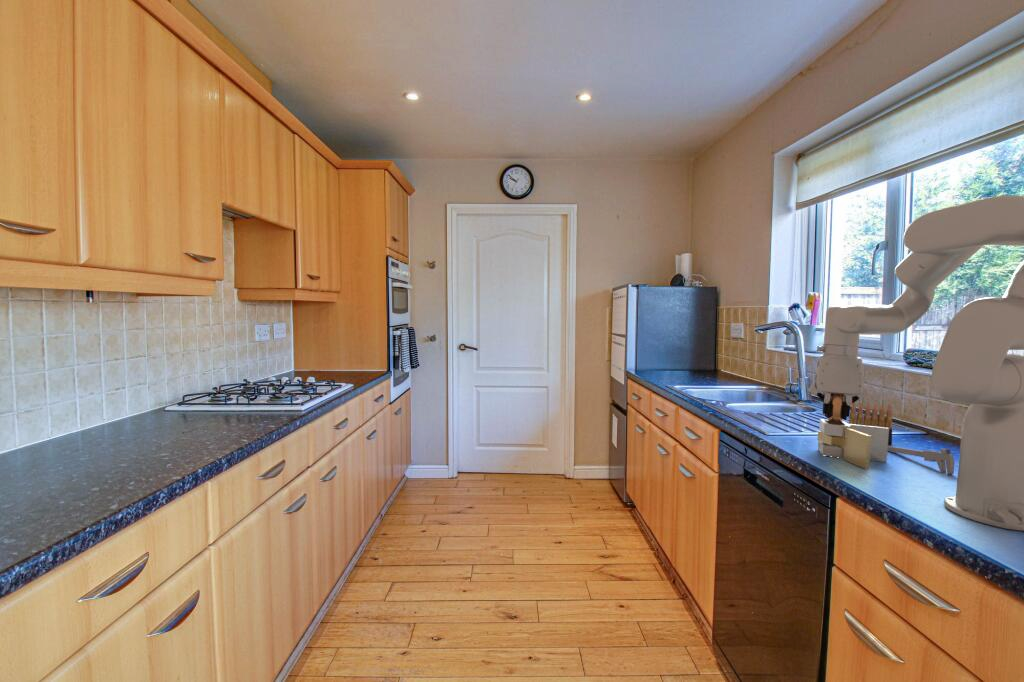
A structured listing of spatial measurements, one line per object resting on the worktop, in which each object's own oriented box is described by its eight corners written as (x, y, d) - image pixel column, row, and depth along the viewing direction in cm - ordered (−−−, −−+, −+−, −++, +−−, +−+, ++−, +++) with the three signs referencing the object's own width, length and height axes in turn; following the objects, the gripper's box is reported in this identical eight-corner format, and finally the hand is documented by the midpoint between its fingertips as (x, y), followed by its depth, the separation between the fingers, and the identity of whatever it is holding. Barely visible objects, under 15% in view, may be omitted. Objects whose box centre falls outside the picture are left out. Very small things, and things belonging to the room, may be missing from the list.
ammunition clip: (889, 443, 130) (892, 404, 129) (891, 445, 128) (895, 406, 127) (846, 439, 134) (849, 401, 133) (848, 440, 132) (851, 402, 131)
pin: (842, 432, 116) (845, 388, 115) (829, 431, 117) (832, 387, 117) (839, 429, 119) (842, 387, 118) (826, 428, 120) (829, 386, 119)
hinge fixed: (889, 465, 111) (892, 430, 110) (822, 456, 117) (824, 423, 117) (881, 458, 116) (884, 425, 116) (817, 450, 122) (820, 418, 122)
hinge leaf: (877, 469, 107) (879, 436, 107) (856, 468, 107) (858, 435, 107) (835, 450, 121) (837, 421, 121) (816, 450, 121) (818, 421, 121)
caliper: (953, 476, 105) (956, 451, 105) (949, 476, 105) (951, 450, 105) (883, 449, 125) (885, 428, 125) (880, 449, 125) (882, 427, 125)
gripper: (807, 350, 117) (802, 417, 118) (883, 354, 110) (877, 425, 111) (802, 348, 123) (797, 411, 125) (873, 352, 116) (868, 418, 118)
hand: (835, 417), depth 118 cm, fingers closed on pin, 3 cm apart
